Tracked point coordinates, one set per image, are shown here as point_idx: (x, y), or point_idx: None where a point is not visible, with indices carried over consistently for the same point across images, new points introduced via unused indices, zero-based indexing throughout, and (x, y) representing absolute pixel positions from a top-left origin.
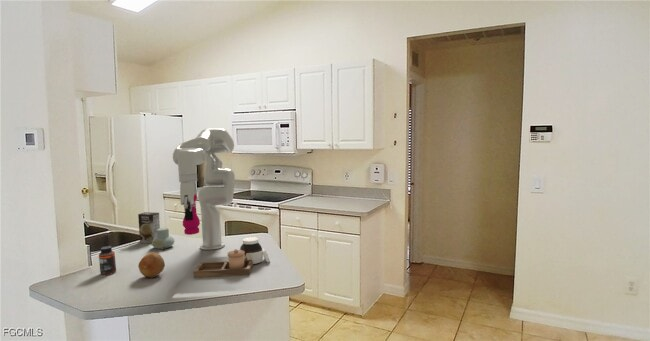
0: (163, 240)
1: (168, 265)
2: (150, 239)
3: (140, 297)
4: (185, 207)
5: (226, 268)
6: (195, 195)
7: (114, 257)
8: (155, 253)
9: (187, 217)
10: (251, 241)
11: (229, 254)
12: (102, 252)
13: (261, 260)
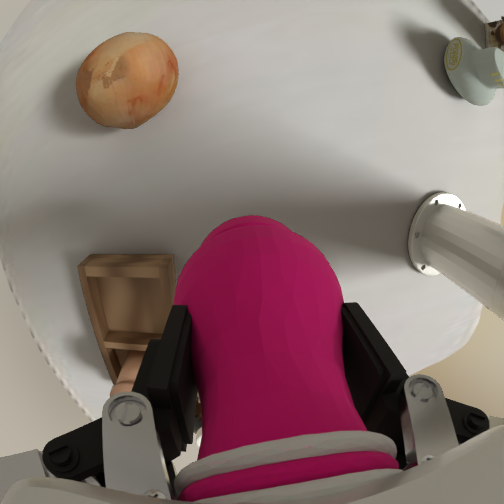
0: (464, 68)
1: (262, 104)
2: (492, 44)
3: (6, 147)
4: (28, 462)
5: None
6: None
7: None
8: (111, 83)
9: (149, 354)
10: (197, 445)
11: (115, 390)
12: None
13: None
